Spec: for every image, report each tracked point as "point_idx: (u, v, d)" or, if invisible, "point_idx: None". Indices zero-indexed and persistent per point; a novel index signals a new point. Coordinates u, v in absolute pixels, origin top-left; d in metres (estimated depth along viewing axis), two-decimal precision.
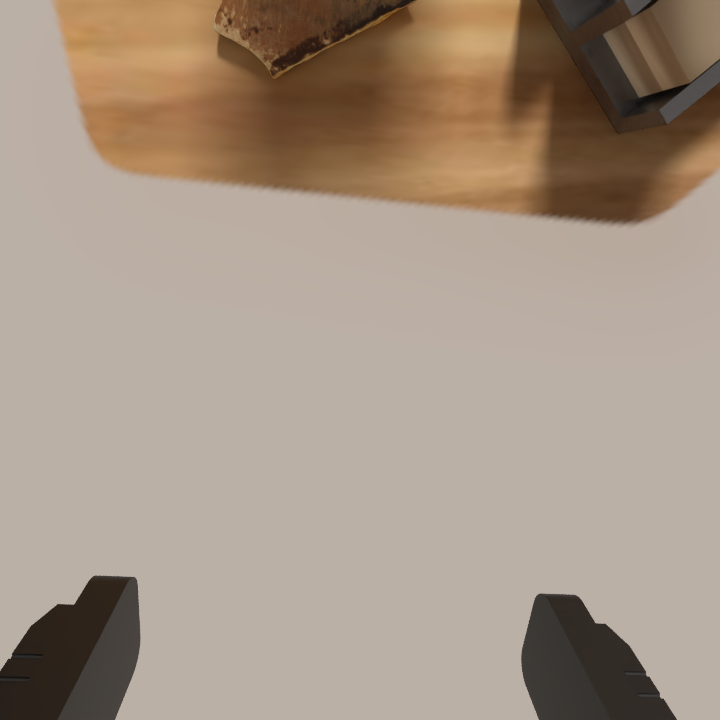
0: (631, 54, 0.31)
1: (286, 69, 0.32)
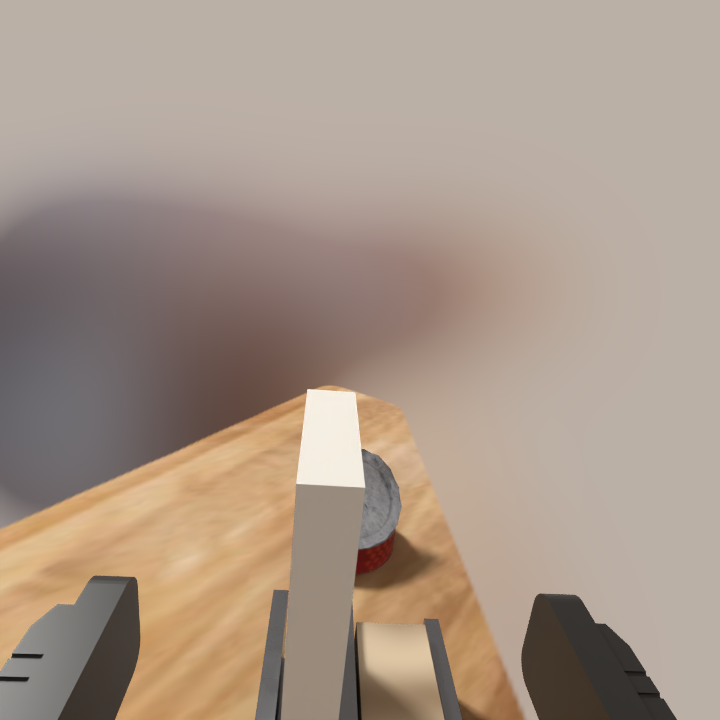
0: None
1: None
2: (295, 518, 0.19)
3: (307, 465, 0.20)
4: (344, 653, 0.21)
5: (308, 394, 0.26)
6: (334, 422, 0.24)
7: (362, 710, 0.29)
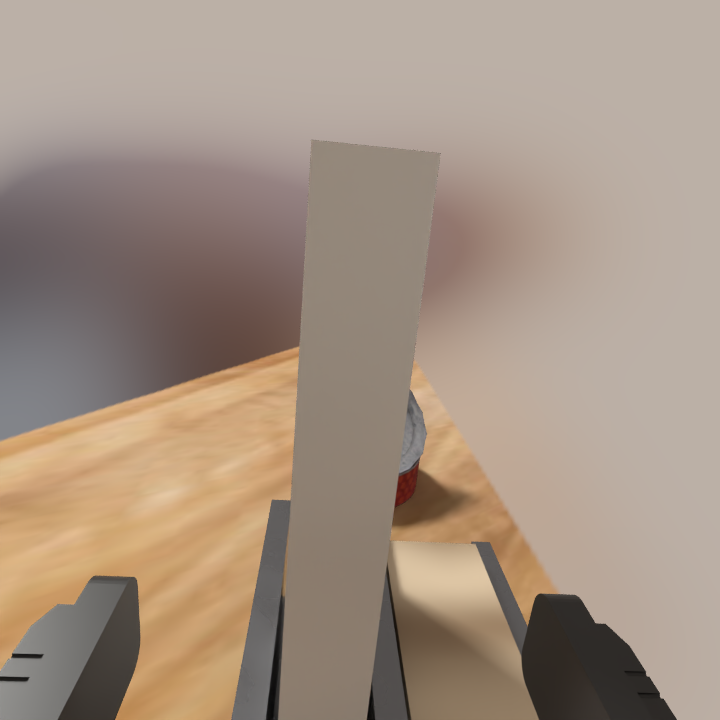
0: None
1: None
2: (309, 219, 0.10)
3: None
4: (391, 503, 0.13)
5: None
6: None
7: (401, 643, 0.20)
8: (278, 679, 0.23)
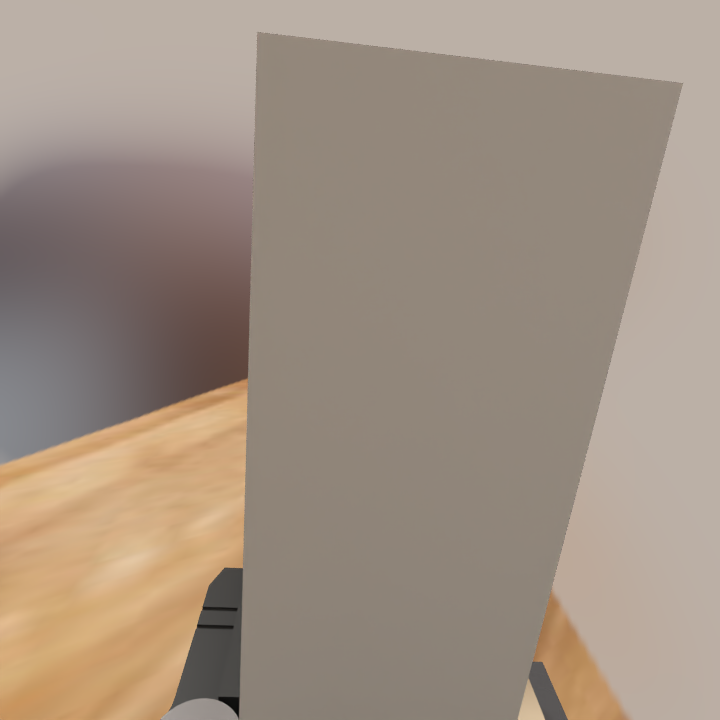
0: None
1: None
2: (258, 293, 0.03)
3: None
4: None
5: None
6: None
7: None
8: None
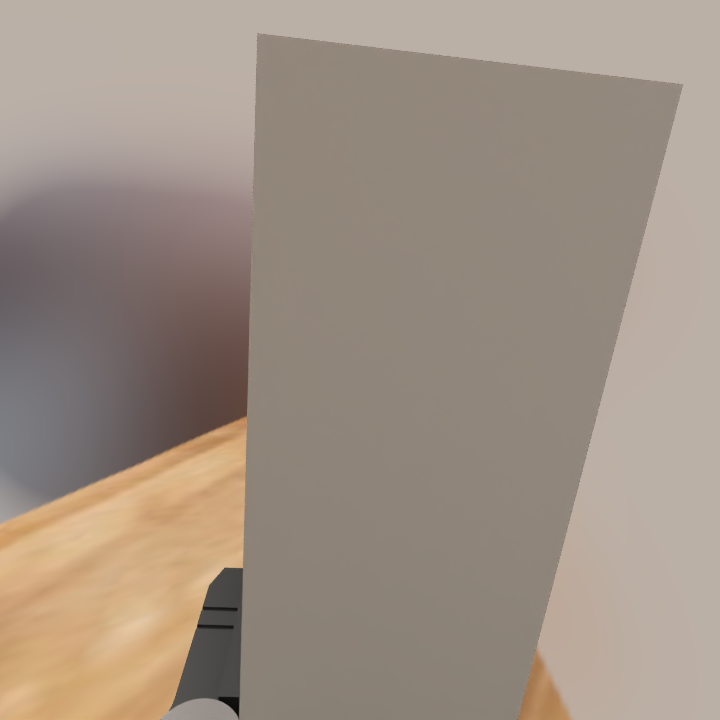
0: None
1: None
2: (258, 294, 0.03)
3: None
4: None
5: None
6: None
7: None
8: None
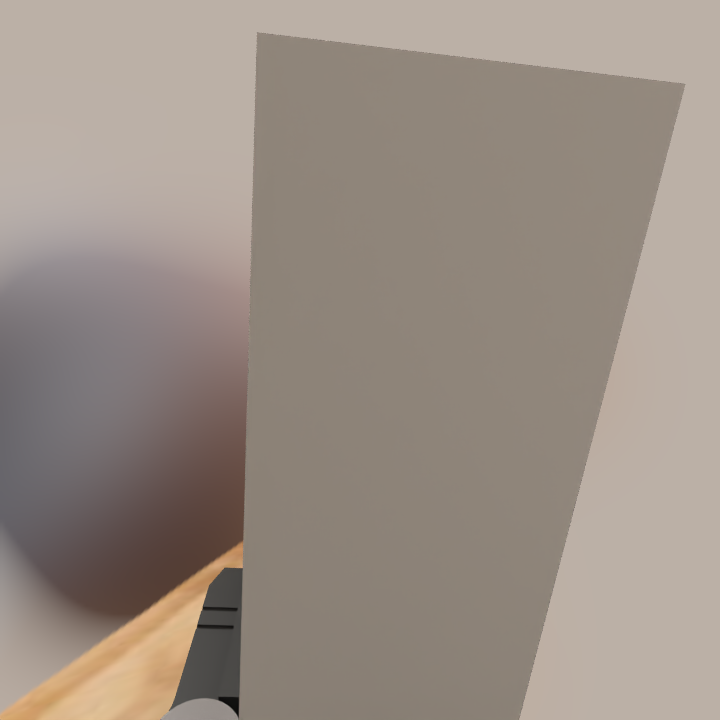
0: None
1: None
2: (258, 295, 0.03)
3: None
4: None
5: None
6: None
7: None
8: None
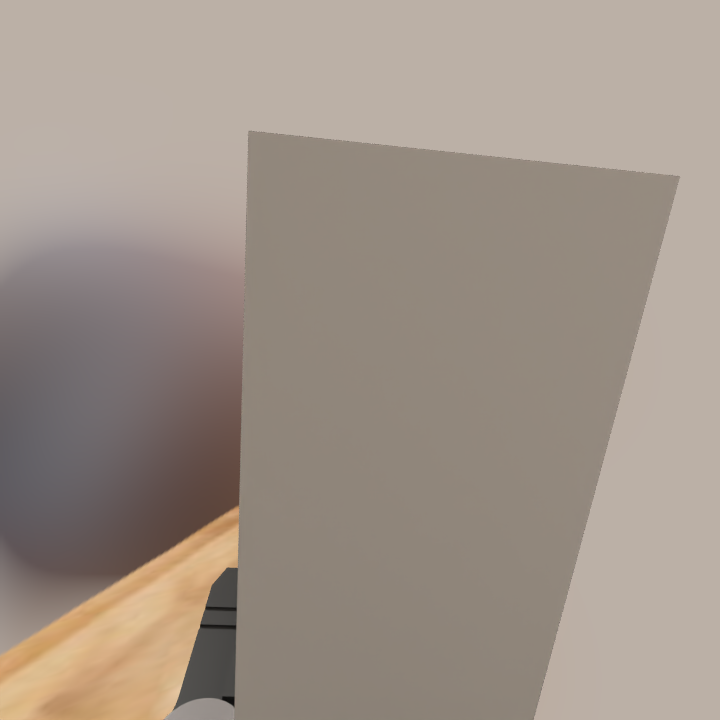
0: None
1: None
2: (250, 381, 0.03)
3: None
4: None
5: None
6: None
7: None
8: None
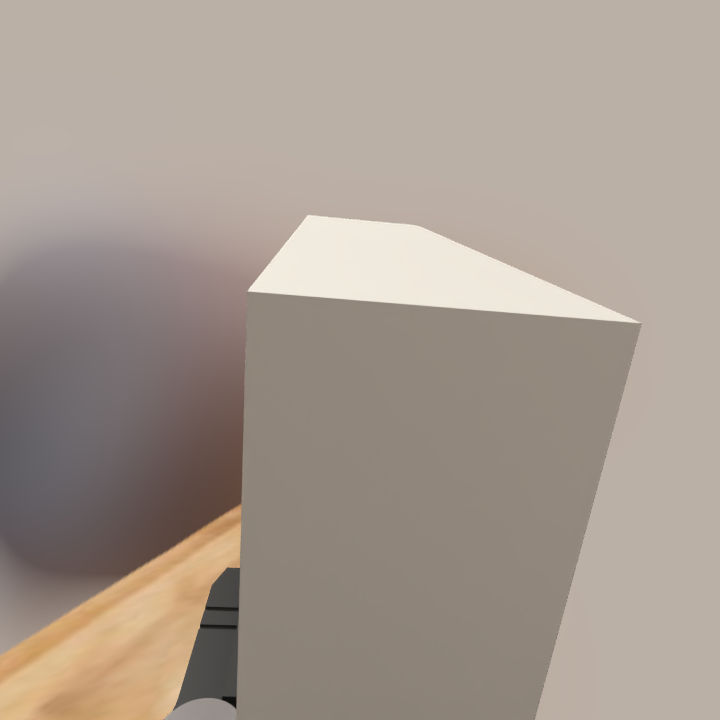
0: None
1: None
2: (249, 502, 0.04)
3: (311, 265, 0.04)
4: None
5: (310, 217, 0.11)
6: (388, 235, 0.08)
7: None
8: None
